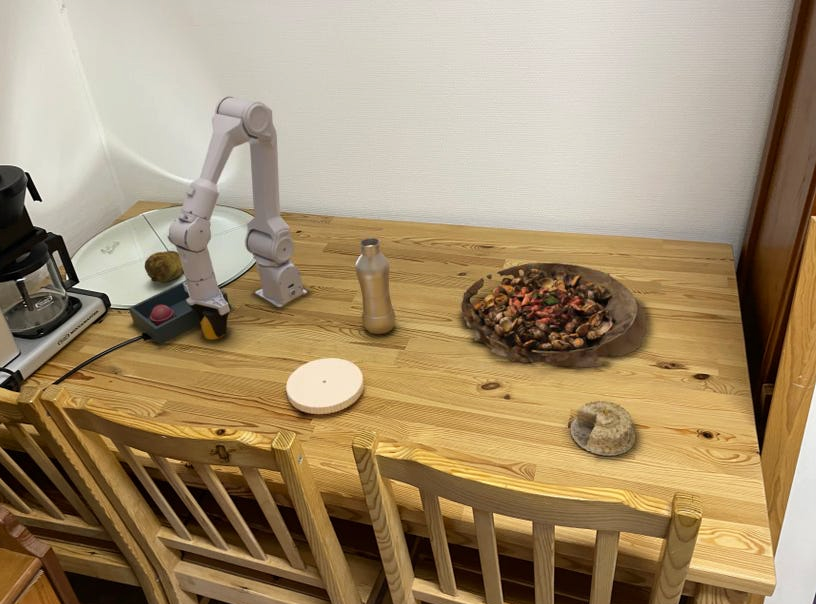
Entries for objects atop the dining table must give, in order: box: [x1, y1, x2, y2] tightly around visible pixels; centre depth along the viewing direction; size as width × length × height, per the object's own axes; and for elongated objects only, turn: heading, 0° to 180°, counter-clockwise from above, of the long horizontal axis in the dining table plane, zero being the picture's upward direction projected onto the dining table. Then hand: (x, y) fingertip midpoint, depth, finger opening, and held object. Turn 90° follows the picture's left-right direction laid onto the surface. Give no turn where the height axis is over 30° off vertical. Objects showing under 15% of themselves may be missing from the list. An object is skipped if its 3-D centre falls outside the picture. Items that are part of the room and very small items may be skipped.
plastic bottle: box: [354, 237, 397, 335], centre depth 142 cm, size 6×7×20 cm
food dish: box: [460, 262, 648, 369], centre depth 141 cm, size 35×33×8 cm
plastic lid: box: [285, 357, 365, 415], centre depth 132 cm, size 14×14×2 cm
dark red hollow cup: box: [150, 305, 175, 326], centre depth 155 cm, size 5×5×5 cm
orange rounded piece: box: [200, 316, 226, 340], centre depth 151 cm, size 5×5×6 cm
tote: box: [128, 279, 230, 346], centre depth 158 cm, size 12×17×5 cm
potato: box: [144, 250, 184, 283], centre depth 173 cm, size 8×13×8 cm, turn 154°
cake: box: [569, 400, 636, 457], centre depth 114 cm, size 10×10×5 cm
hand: (214, 329), depth 152 cm, fingers closed on orange rounded piece, 5 cm apart
